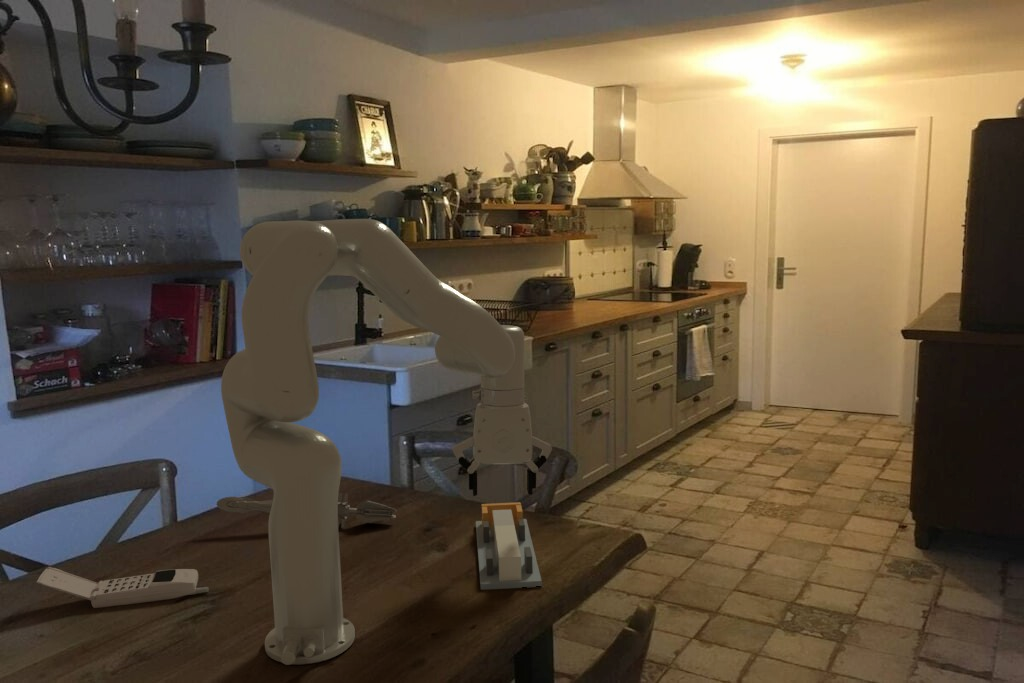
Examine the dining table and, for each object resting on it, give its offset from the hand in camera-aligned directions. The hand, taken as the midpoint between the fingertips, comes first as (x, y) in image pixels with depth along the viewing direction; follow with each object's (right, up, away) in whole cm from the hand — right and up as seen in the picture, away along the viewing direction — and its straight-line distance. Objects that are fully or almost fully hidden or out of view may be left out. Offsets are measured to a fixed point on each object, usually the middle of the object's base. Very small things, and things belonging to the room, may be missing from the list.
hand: (502, 493), depth 142 cm
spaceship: (-39, -11, +19) cm, 44 cm away
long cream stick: (+1, -11, +2) cm, 11 cm away
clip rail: (+1, -12, +4) cm, 13 cm away
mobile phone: (-61, -16, -10) cm, 64 cm away
